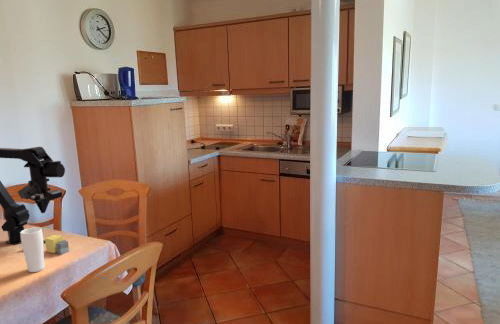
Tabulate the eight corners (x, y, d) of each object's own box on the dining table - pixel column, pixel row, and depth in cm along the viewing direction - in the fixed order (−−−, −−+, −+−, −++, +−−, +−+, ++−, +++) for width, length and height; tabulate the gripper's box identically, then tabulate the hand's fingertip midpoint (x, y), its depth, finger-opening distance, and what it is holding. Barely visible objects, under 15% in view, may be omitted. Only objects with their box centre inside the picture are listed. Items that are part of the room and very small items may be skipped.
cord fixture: (27, 249, 149) (25, 239, 149) (39, 244, 154) (38, 234, 154) (59, 255, 143) (58, 245, 142) (71, 250, 148) (69, 240, 147)
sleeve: (46, 251, 146) (44, 238, 145) (56, 247, 150) (54, 234, 149) (54, 253, 144) (52, 239, 143) (63, 248, 148) (62, 235, 147)
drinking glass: (37, 274, 128) (31, 234, 125) (21, 273, 129) (15, 233, 127) (51, 265, 135) (46, 227, 132) (35, 264, 136) (30, 226, 133)
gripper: (4, 180, 148) (9, 216, 151) (36, 183, 141) (41, 221, 144) (29, 174, 158) (34, 208, 161) (61, 177, 151) (65, 213, 154)
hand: (43, 213), depth 155 cm, fingers closed
